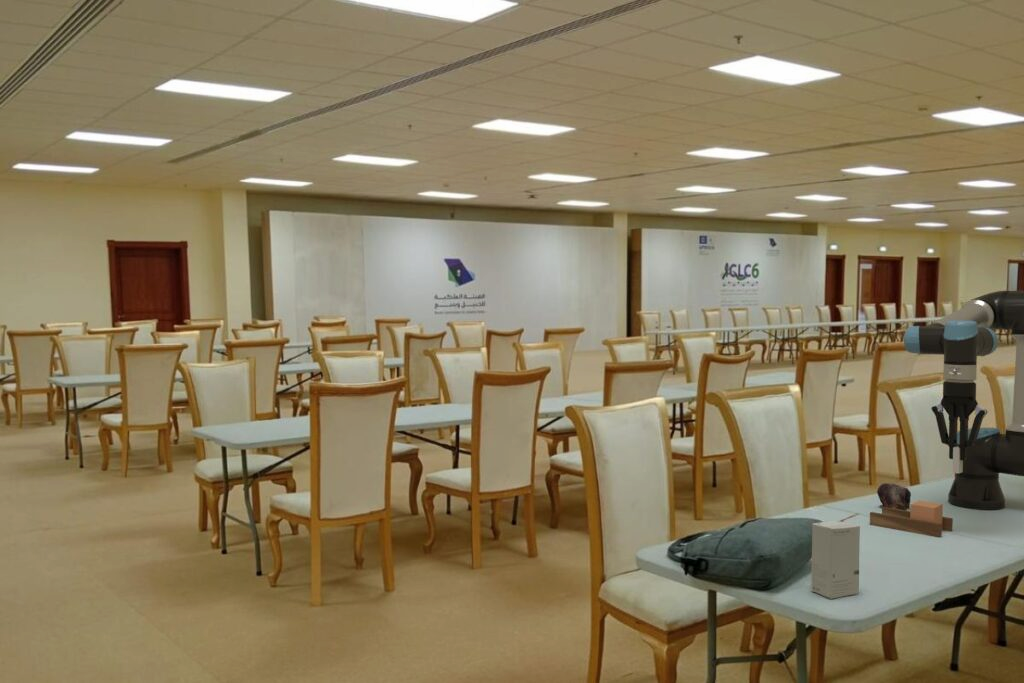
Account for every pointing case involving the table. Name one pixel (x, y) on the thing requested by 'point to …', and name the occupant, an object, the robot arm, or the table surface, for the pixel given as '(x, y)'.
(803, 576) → the table surface
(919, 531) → the chute
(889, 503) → the rock
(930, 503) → the block
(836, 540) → the skincare box
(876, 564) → the table surface
